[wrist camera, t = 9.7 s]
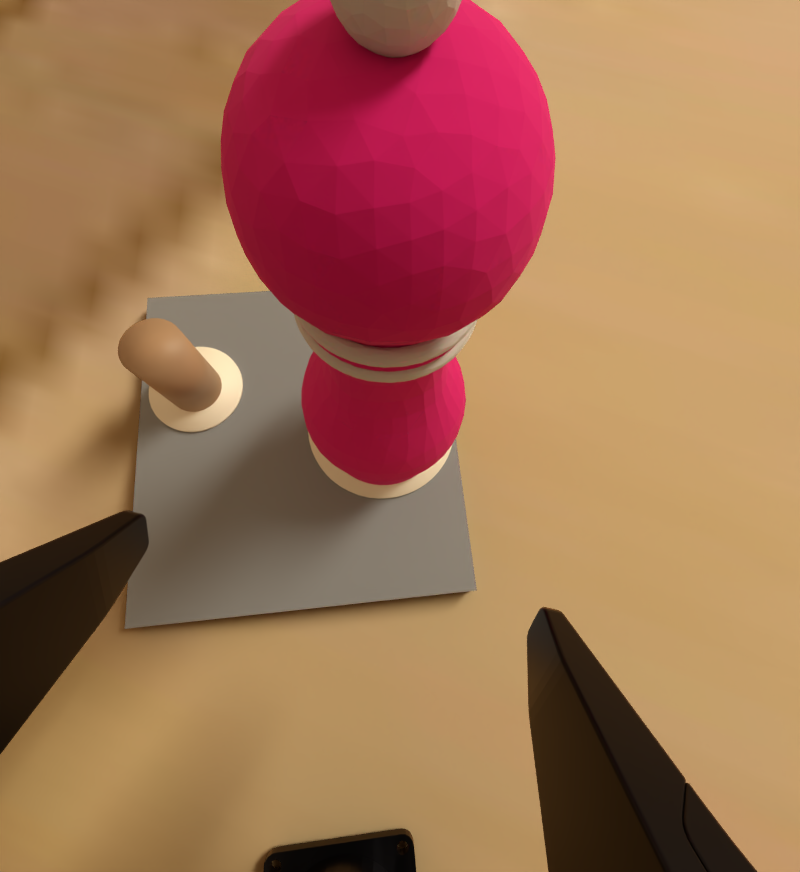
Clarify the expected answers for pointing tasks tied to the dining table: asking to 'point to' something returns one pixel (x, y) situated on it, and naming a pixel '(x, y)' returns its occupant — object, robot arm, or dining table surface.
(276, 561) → the board
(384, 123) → the pepper mill
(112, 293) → the dining table surface
